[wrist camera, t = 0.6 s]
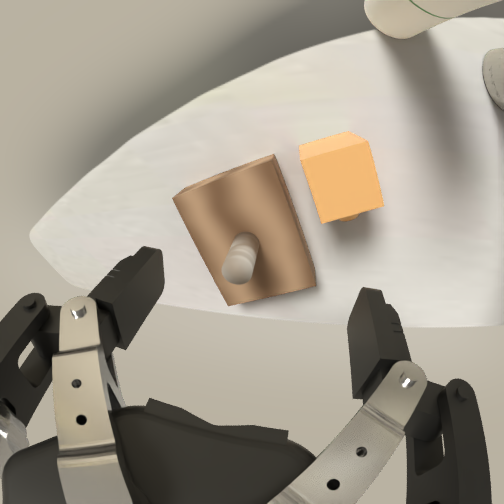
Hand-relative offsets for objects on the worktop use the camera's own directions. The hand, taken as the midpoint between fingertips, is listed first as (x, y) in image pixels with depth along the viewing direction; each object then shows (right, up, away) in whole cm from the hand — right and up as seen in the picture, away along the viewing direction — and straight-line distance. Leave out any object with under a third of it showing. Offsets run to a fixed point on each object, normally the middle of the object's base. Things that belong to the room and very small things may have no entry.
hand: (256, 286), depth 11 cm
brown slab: (0, +4, +25) cm, 26 cm away
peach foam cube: (+10, +10, +20) cm, 25 cm away
